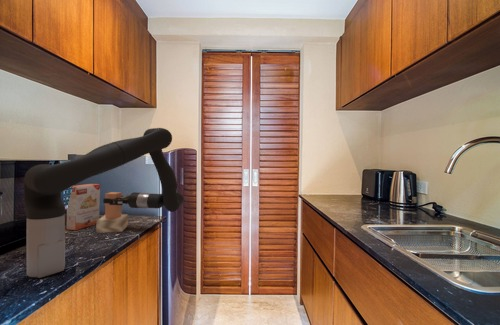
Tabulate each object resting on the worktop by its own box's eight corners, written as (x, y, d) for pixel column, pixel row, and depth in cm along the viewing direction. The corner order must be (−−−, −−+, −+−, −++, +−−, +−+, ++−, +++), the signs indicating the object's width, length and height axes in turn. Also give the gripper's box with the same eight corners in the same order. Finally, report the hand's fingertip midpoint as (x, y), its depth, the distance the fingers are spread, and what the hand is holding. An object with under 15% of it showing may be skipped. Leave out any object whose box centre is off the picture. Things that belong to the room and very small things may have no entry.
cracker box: (76, 231, 114) (76, 186, 114) (65, 230, 116) (66, 186, 115) (100, 223, 128) (100, 183, 128) (90, 222, 129) (90, 183, 129)
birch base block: (127, 225, 126) (128, 214, 126) (122, 232, 116) (122, 219, 115) (104, 226, 124) (104, 214, 123) (96, 233, 113) (96, 220, 113)
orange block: (121, 216, 122) (121, 192, 121) (115, 218, 117) (115, 194, 116) (111, 215, 122) (111, 192, 122) (105, 218, 117) (105, 193, 117)
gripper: (148, 190, 125) (118, 189, 126) (133, 195, 111) (99, 193, 112) (148, 205, 125) (118, 203, 127) (133, 211, 111) (99, 209, 112)
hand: (109, 199), depth 119 cm, fingers open, 8 cm apart
